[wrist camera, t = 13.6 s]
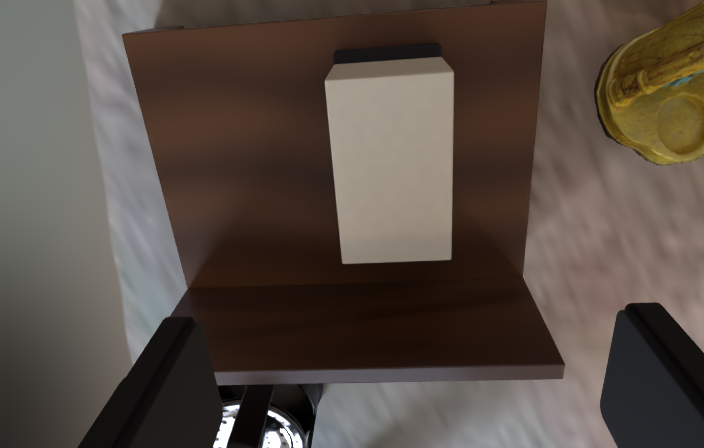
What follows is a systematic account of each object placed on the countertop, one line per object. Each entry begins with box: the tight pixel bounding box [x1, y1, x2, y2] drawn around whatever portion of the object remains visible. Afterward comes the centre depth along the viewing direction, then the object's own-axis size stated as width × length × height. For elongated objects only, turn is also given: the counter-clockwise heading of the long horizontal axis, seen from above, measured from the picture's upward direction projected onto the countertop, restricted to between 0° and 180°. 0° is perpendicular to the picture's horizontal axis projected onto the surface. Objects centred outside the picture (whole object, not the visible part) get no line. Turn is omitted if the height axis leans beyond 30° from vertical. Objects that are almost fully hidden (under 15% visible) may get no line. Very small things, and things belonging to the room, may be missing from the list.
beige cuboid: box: [325, 43, 454, 264], centre depth 25 cm, size 12×5×6 cm, turn 4°
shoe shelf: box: [122, 0, 565, 385], centre depth 27 cm, size 17×22×12 cm
